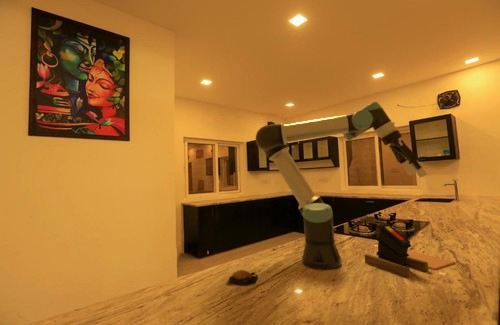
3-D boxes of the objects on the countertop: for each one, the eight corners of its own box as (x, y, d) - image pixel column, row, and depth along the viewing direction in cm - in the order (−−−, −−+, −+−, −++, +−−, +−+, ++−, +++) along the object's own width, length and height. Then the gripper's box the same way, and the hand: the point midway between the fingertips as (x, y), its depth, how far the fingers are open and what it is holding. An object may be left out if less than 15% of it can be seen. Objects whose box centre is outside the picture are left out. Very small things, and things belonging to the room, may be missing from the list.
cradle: (407, 277, 78) (406, 268, 79) (365, 262, 94) (364, 254, 94) (428, 271, 83) (427, 262, 83) (384, 257, 98) (384, 250, 98)
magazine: (379, 253, 98) (388, 223, 93) (405, 279, 86) (416, 245, 81) (371, 254, 98) (379, 224, 92) (396, 280, 85) (407, 247, 80)
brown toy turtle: (225, 287, 81) (224, 276, 81) (230, 277, 89) (229, 267, 90) (256, 287, 80) (255, 276, 80) (258, 277, 88) (257, 266, 88)
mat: (434, 270, 83) (434, 268, 83) (387, 256, 100) (387, 254, 100) (455, 263, 88) (455, 261, 88) (407, 251, 104) (407, 249, 104)
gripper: (405, 124, 92) (439, 171, 88) (390, 132, 115) (416, 170, 112) (386, 135, 94) (419, 181, 90) (375, 141, 117) (401, 178, 114)
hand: (418, 175), depth 101 cm, fingers open, 13 cm apart
